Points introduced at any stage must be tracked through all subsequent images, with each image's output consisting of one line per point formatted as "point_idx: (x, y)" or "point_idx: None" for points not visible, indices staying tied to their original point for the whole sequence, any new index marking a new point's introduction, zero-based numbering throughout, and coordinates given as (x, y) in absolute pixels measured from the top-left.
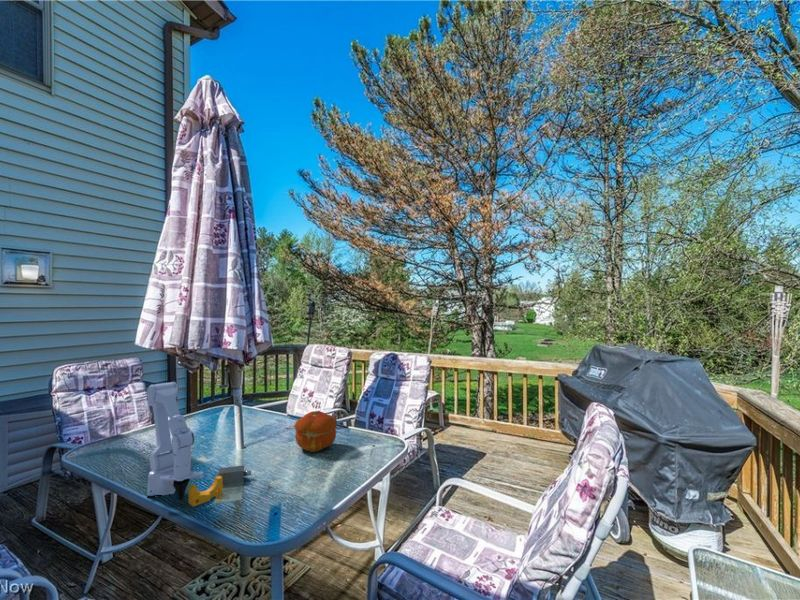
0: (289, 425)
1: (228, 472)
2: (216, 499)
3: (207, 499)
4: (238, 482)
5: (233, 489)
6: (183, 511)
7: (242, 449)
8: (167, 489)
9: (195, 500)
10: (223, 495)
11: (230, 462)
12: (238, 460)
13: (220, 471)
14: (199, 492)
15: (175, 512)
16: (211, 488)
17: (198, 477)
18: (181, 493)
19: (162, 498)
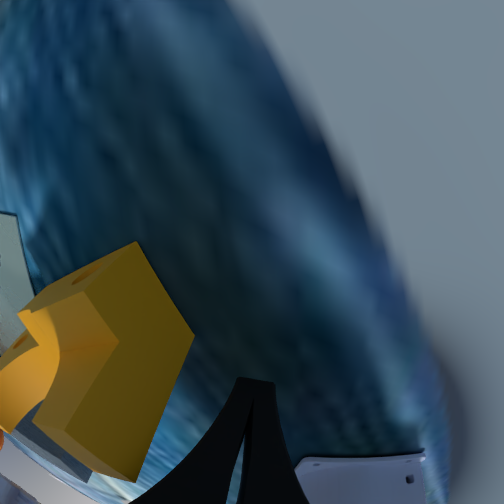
0: (75, 486)
1: (24, 436)
2: (20, 271)
3: (49, 287)
4: None
5: (4, 334)
6: (222, 176)
7: (121, 495)
8: (336, 484)
9: (91, 277)
10: (11, 301)
11: (122, 483)
12: (104, 477)
13: (64, 466)
14: (60, 360)
15: (312, 195)
16: (34, 373)
17: (25, 501)
18: (238, 435)
19: (368, 440)
